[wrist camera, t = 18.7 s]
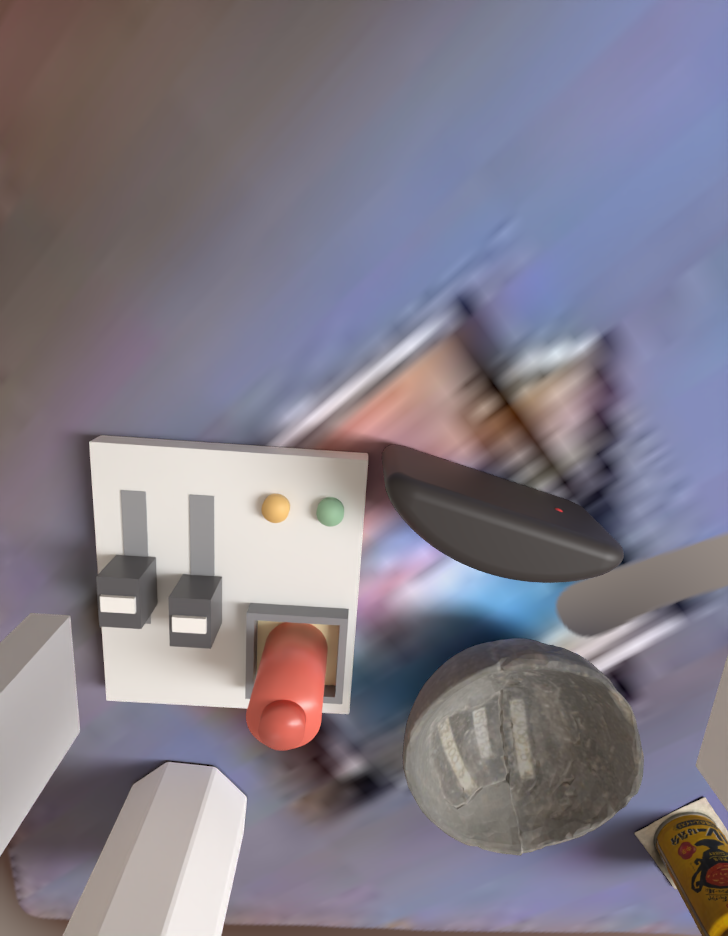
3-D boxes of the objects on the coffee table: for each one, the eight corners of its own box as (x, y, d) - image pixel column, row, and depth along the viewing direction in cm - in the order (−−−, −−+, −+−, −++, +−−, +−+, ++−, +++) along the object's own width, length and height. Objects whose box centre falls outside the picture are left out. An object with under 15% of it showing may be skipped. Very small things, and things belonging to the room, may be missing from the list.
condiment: (703, 795, 54) (795, 931, 42) (742, 852, 56) (840, 998, 44) (632, 830, 55) (703, 973, 44) (673, 885, 57) (751, 1035, 46)
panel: (101, 435, 44) (79, 447, 40) (367, 453, 44) (368, 466, 41) (116, 684, 50) (98, 713, 47) (349, 698, 51) (348, 727, 47)
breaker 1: (116, 554, 44) (94, 578, 41) (156, 557, 44) (137, 581, 41) (118, 601, 45) (97, 628, 42) (157, 604, 46) (139, 631, 42)
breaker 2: (182, 574, 45) (166, 599, 41) (222, 576, 45) (209, 601, 41) (183, 620, 46) (168, 648, 42) (222, 622, 46) (210, 651, 42)
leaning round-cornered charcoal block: (366, 490, 45) (367, 541, 36) (385, 436, 44) (391, 474, 35) (558, 552, 47) (605, 615, 38) (582, 501, 46) (637, 553, 36)
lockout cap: (266, 618, 46) (243, 696, 37) (330, 623, 46) (322, 701, 37) (263, 672, 47) (241, 760, 39) (325, 677, 48) (317, 765, 39)
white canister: (109, 773, 53) (-18, 1016, 35) (227, 747, 52) (157, 982, 34) (153, 864, 56) (57, 1129, 38) (265, 840, 55) (219, 1100, 37)
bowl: (374, 633, 49) (376, 696, 41) (584, 581, 47) (627, 637, 40) (426, 797, 54) (436, 882, 46) (617, 755, 52) (660, 834, 45)
